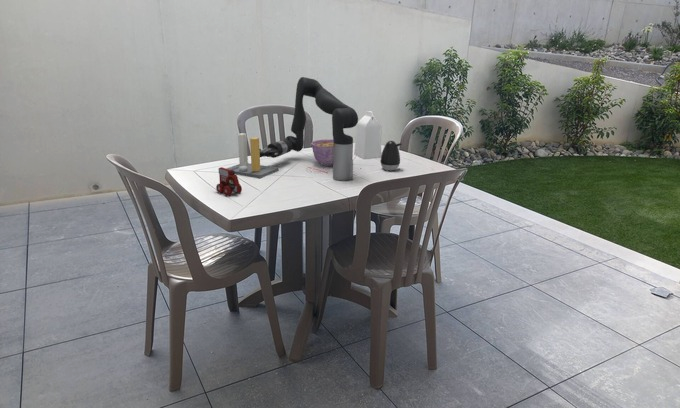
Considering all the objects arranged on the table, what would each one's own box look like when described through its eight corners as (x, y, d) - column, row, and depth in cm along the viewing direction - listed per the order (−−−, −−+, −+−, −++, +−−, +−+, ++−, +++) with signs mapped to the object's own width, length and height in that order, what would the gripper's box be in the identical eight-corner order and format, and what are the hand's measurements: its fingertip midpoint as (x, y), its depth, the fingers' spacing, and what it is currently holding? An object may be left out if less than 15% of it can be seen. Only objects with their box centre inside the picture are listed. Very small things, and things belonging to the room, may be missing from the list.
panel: (278, 170, 221) (278, 167, 220) (259, 178, 207) (259, 175, 207) (243, 165, 230) (243, 162, 229) (223, 172, 216) (223, 169, 216)
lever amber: (260, 170, 214) (258, 138, 209) (256, 171, 212) (255, 139, 206) (255, 169, 216) (253, 137, 210) (251, 170, 213) (250, 138, 208)
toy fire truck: (231, 197, 180) (230, 173, 177) (214, 191, 188) (212, 168, 184) (245, 194, 185) (243, 170, 182) (227, 188, 193) (226, 165, 189)
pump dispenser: (397, 173, 221) (399, 143, 216) (377, 170, 224) (379, 141, 219) (401, 168, 230) (403, 139, 225) (382, 166, 233) (384, 138, 228)
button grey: (249, 170, 215) (249, 166, 215) (244, 172, 212) (243, 168, 211) (242, 169, 217) (242, 165, 216) (237, 171, 213) (237, 167, 213)
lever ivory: (248, 164, 224) (246, 133, 219) (244, 166, 222) (242, 134, 216) (243, 164, 225) (241, 133, 220) (239, 165, 223) (237, 134, 217)
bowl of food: (349, 160, 244) (350, 140, 240) (346, 169, 225) (347, 147, 221) (314, 159, 246) (314, 138, 242) (308, 168, 227) (308, 146, 223)
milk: (354, 154, 258) (355, 110, 249) (371, 153, 262) (373, 109, 254) (363, 159, 247) (365, 113, 239) (381, 157, 252) (383, 112, 243)
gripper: (266, 140, 229) (245, 146, 214) (287, 143, 223) (268, 149, 209) (267, 154, 231) (246, 161, 217) (288, 157, 226) (268, 164, 211)
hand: (257, 155), depth 213 cm, fingers closed
